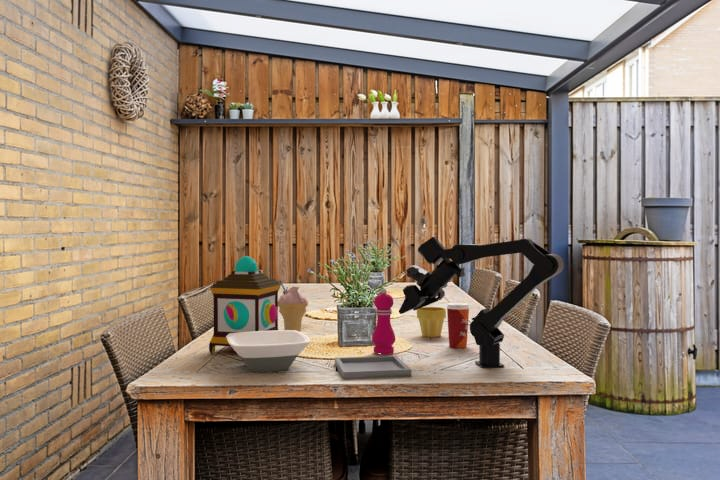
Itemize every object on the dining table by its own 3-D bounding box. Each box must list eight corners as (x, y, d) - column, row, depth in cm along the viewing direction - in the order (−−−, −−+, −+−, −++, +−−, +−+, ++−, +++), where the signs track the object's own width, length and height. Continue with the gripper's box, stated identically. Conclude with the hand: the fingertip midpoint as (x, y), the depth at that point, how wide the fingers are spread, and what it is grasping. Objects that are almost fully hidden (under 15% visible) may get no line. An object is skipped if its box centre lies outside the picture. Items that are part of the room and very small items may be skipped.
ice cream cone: (287, 340, 218) (286, 282, 218) (271, 335, 227) (271, 279, 227) (313, 336, 225) (313, 280, 224) (298, 332, 234) (298, 278, 233)
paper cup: (469, 349, 202) (469, 305, 202) (445, 348, 204) (445, 305, 204) (470, 344, 210) (470, 302, 210) (446, 343, 212) (447, 302, 211)
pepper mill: (369, 354, 194) (369, 289, 194) (375, 350, 201) (375, 287, 201) (392, 355, 192) (392, 290, 192) (397, 351, 199) (397, 287, 199)
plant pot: (414, 337, 223) (414, 309, 223) (418, 332, 233) (418, 306, 233) (444, 338, 221) (444, 310, 221) (447, 333, 231) (447, 307, 231)
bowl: (231, 379, 163) (230, 347, 163) (224, 361, 185) (224, 332, 185) (315, 374, 169) (315, 342, 169) (298, 356, 191) (298, 329, 191)
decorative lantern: (287, 346, 207) (287, 254, 207) (262, 358, 188) (262, 257, 188) (232, 343, 213) (232, 253, 212) (202, 354, 194) (201, 256, 193)
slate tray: (411, 376, 166) (411, 369, 166) (343, 379, 163) (343, 372, 163) (396, 361, 184) (396, 355, 184) (334, 363, 181) (334, 357, 181)
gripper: (435, 255, 197) (403, 288, 203) (409, 258, 181) (375, 294, 187) (459, 281, 194) (426, 315, 199) (434, 286, 177) (399, 322, 183)
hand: (406, 311), depth 192 cm, fingers open, 9 cm apart
